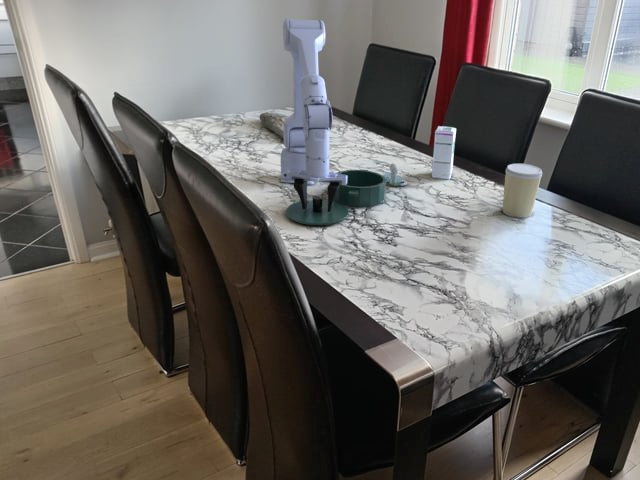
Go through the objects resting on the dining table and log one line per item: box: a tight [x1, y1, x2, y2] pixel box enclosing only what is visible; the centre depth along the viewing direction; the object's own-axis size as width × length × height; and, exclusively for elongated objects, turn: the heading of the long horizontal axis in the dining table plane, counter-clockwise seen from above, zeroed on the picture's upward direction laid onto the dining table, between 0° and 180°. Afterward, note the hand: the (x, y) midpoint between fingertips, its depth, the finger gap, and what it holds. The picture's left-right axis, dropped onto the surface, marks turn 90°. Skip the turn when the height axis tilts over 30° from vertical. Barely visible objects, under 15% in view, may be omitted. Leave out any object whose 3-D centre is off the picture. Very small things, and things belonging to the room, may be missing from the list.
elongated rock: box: [259, 111, 288, 140], centre depth 211 cm, size 35×5×10 cm
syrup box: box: [431, 125, 457, 180], centre depth 174 cm, size 6×6×14 cm
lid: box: [285, 195, 350, 226], centre depth 144 cm, size 16×16×5 cm
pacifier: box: [383, 162, 408, 187], centre depth 167 cm, size 7×6×6 cm
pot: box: [334, 168, 387, 208], centre depth 156 cm, size 15×20×5 cm
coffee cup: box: [502, 163, 543, 219], centre depth 151 cm, size 9×9×12 cm
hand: (317, 209), depth 144 cm, fingers open, 6 cm apart
